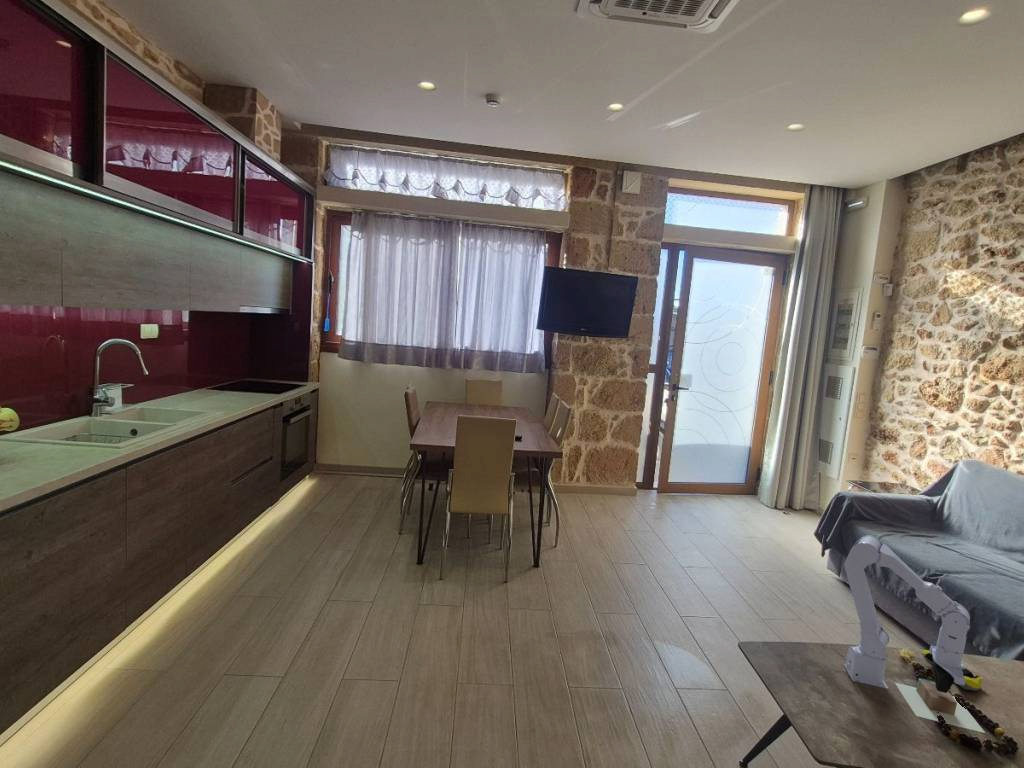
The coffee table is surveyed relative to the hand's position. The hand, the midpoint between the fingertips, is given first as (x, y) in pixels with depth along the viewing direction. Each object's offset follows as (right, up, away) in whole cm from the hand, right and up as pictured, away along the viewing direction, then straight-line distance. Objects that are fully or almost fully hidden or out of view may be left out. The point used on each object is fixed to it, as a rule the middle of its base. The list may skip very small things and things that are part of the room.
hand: (941, 690), depth 145 cm
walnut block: (-1, -4, -2) cm, 4 cm away
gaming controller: (+16, -6, +15) cm, 23 cm away
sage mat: (0, -6, +1) cm, 6 cm away
